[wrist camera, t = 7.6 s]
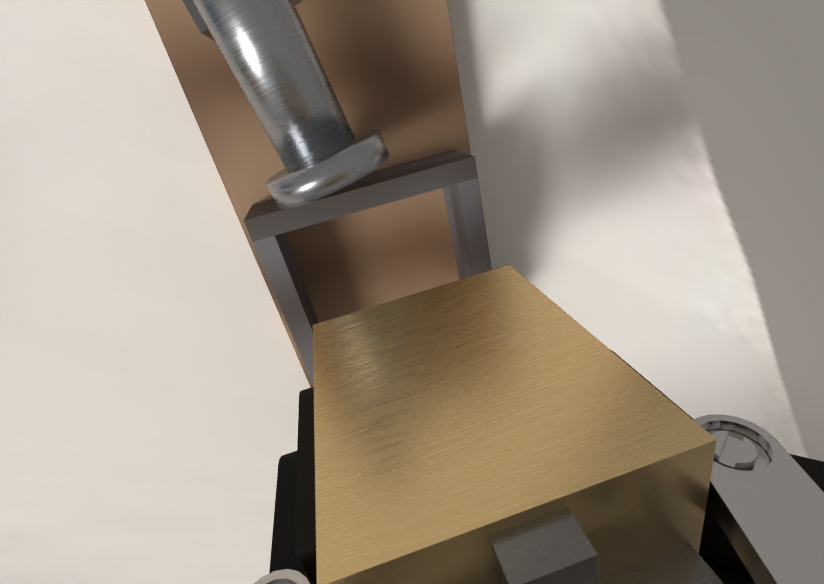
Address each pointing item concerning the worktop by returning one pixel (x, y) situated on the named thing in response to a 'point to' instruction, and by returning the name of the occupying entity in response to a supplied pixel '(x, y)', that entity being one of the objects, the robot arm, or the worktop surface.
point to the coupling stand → (368, 196)
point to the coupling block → (497, 448)
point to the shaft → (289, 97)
